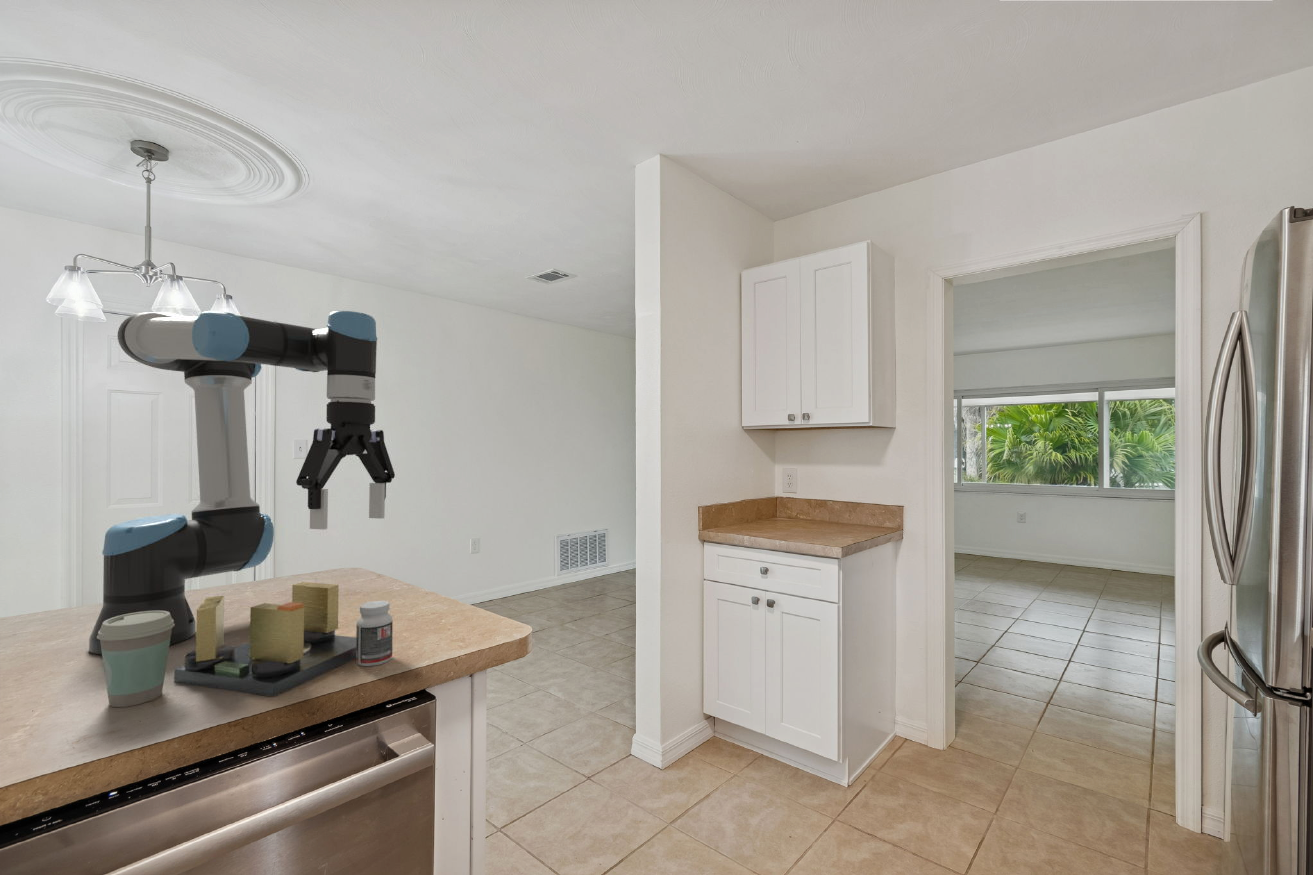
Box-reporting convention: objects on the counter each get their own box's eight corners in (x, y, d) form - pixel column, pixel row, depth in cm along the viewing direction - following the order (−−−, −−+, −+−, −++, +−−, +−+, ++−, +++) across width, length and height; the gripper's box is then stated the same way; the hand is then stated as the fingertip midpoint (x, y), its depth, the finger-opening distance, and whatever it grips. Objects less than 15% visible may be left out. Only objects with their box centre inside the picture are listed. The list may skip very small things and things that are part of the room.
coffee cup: (129, 687, 89) (130, 609, 89) (187, 685, 89) (188, 608, 90) (78, 713, 80) (79, 627, 80) (143, 711, 81) (144, 626, 81)
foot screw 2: (281, 643, 103) (282, 587, 103) (312, 631, 109) (312, 579, 109) (317, 647, 100) (318, 590, 101) (346, 635, 107) (347, 582, 107)
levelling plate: (174, 681, 91) (174, 661, 91) (285, 639, 110) (286, 623, 110) (273, 697, 86) (273, 675, 86) (372, 650, 105) (372, 632, 105)
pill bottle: (399, 658, 101) (400, 602, 101) (371, 669, 96) (372, 610, 96) (376, 652, 104) (377, 598, 104) (348, 663, 99) (349, 606, 99)
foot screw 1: (190, 659, 95) (191, 599, 95) (237, 652, 98) (238, 594, 98) (179, 676, 88) (180, 611, 88) (230, 668, 91) (231, 606, 91)
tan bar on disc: (237, 675, 88) (238, 606, 89) (274, 660, 95) (275, 596, 95) (278, 681, 86) (279, 611, 86) (313, 665, 93) (314, 600, 93)
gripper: (311, 396, 87) (309, 535, 87) (415, 406, 111) (413, 515, 111) (271, 396, 89) (268, 533, 88) (382, 406, 113) (380, 513, 113)
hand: (349, 523), depth 100 cm, fingers open, 13 cm apart
